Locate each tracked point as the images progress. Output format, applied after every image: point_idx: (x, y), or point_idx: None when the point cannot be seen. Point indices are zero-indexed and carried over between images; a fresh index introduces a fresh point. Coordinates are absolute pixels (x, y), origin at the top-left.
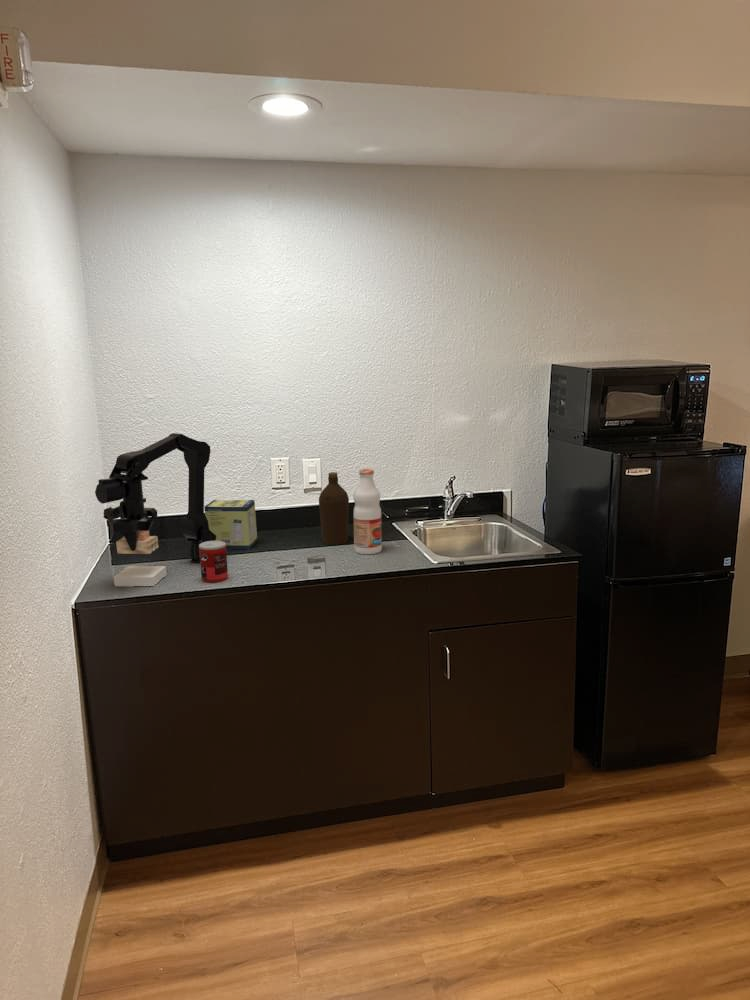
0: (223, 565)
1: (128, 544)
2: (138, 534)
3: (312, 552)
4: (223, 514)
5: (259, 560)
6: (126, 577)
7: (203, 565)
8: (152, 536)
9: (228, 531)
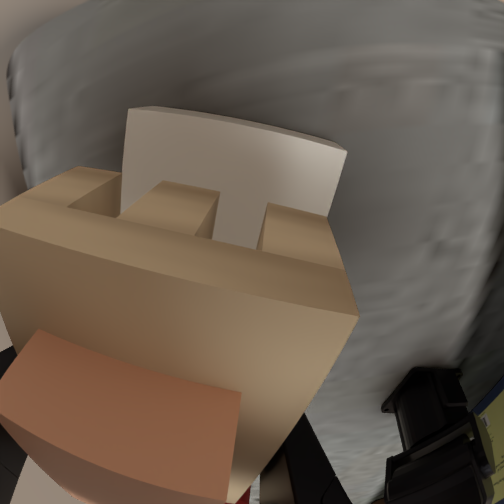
0: None
1: (9, 348)
2: (12, 477)
3: (350, 496)
4: (498, 492)
5: (342, 467)
6: (123, 185)
7: None
8: (229, 494)
9: None
